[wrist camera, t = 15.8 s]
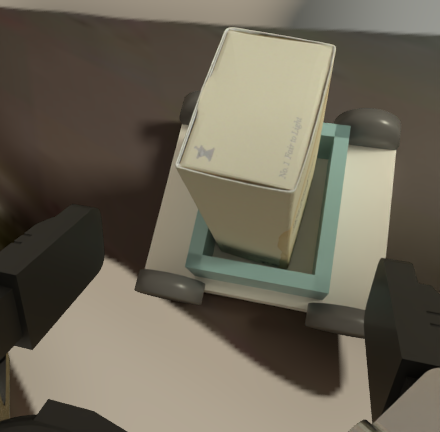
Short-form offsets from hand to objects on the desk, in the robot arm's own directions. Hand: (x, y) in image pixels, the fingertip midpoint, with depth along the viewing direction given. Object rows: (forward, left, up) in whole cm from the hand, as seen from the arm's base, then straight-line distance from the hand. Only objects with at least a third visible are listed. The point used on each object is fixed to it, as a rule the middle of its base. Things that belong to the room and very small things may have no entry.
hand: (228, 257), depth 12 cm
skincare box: (0, -6, -13) cm, 14 cm away
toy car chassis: (0, -6, -15) cm, 16 cm away
